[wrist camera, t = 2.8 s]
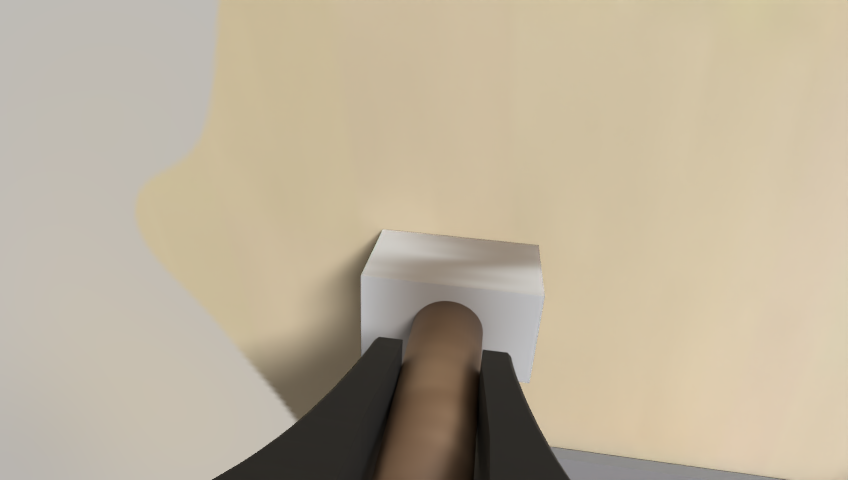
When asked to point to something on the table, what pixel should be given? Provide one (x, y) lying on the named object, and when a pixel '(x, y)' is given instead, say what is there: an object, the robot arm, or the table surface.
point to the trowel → (446, 340)
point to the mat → (635, 468)
